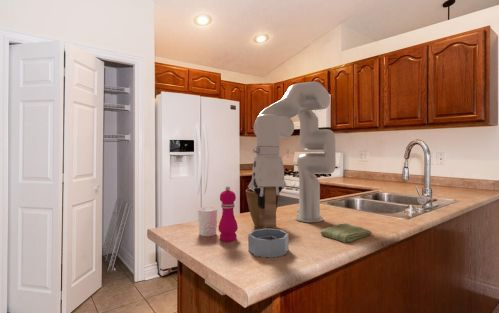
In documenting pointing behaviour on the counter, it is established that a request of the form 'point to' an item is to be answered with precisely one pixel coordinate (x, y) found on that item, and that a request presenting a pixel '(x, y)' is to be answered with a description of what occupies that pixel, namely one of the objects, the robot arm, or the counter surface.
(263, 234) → the grey pet bowl
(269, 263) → the counter surface
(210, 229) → the white cup
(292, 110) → the robot arm
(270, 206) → the brown wooden block
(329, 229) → the washcloth
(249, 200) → the plant pot
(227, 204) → the pepper mill
